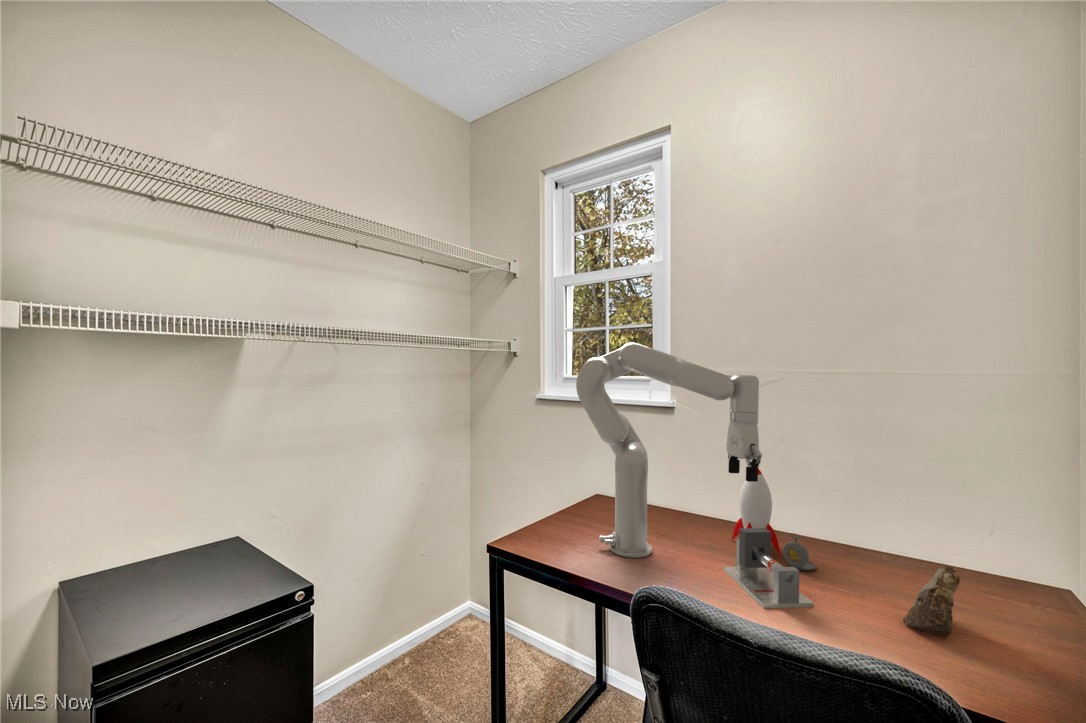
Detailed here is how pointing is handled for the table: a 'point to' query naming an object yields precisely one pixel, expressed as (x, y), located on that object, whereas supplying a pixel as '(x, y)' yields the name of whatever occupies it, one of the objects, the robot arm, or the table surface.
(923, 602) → the rock
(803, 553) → the pocket watch
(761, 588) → the machine vise
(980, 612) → the table surface
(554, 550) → the table surface
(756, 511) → the rocket
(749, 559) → the collar
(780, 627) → the table surface
